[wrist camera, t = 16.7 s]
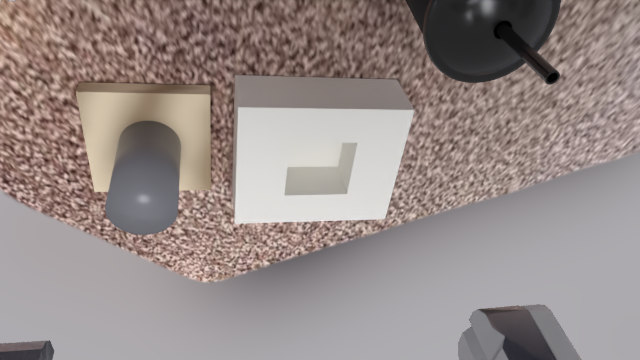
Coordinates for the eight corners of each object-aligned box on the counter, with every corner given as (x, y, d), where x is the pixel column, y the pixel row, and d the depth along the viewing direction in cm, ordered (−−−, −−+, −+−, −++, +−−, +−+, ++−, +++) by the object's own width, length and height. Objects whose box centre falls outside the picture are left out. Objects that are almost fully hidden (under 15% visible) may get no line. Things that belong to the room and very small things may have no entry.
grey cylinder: (179, 120, 43) (176, 183, 37) (182, 168, 46) (179, 233, 40) (115, 120, 42) (100, 184, 36) (122, 169, 45) (109, 235, 39)
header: (397, 79, 46) (414, 110, 42) (371, 185, 53) (384, 219, 50) (234, 75, 43) (238, 107, 39) (232, 187, 50) (234, 223, 47)
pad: (209, 85, 43) (210, 94, 42) (210, 179, 49) (211, 189, 48) (79, 82, 41) (75, 91, 40) (97, 181, 47) (94, 191, 46)
